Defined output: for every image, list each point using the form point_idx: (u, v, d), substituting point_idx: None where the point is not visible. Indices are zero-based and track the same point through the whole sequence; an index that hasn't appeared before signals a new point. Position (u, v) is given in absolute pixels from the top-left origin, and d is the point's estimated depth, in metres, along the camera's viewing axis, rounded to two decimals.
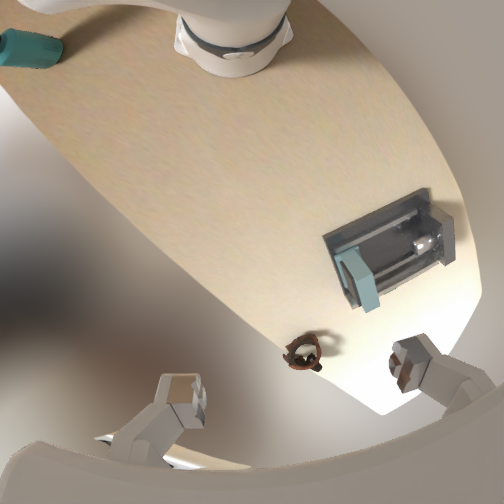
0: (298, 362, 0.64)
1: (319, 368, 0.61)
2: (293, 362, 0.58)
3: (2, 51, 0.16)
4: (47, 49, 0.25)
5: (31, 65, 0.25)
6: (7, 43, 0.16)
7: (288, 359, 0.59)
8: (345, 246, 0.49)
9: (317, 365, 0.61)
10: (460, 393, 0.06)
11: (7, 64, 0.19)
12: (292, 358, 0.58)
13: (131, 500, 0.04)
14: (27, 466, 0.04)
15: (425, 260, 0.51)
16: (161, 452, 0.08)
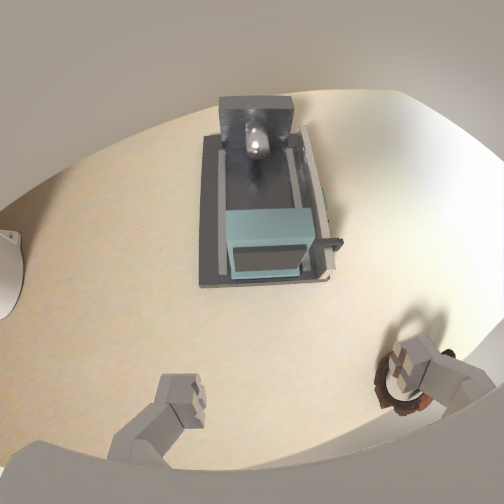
0: None
1: (449, 354, 0.26)
2: (410, 404, 0.23)
3: None
4: None
5: None
6: None
7: (404, 410, 0.24)
8: (221, 257, 0.33)
9: None
10: (460, 393, 0.06)
11: None
12: (401, 404, 0.24)
13: (131, 500, 0.04)
14: (27, 466, 0.04)
15: (300, 144, 0.38)
16: (161, 452, 0.08)
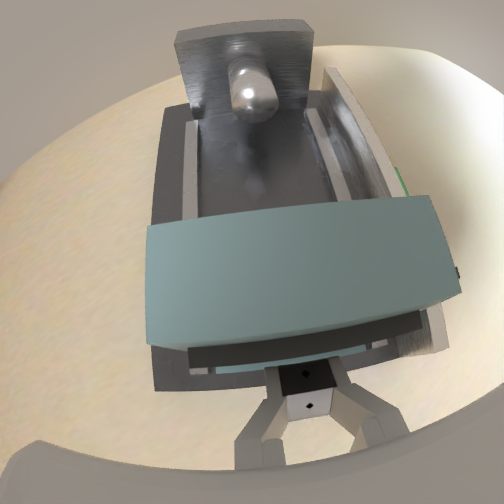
0: None
1: None
2: None
3: None
4: None
5: None
6: None
7: None
8: None
9: None
10: (359, 432, 0.06)
11: None
12: None
13: (131, 500, 0.04)
14: (27, 466, 0.04)
15: (330, 98, 0.19)
16: None
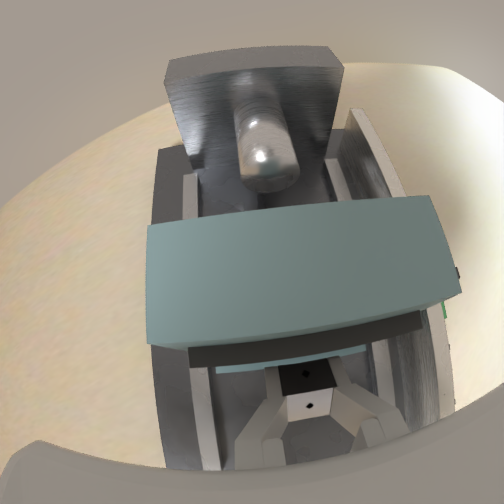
0: None
1: None
2: None
3: None
4: None
5: None
6: None
7: None
8: (204, 439, 0.12)
9: None
10: (360, 432, 0.06)
11: None
12: None
13: (131, 500, 0.04)
14: (27, 466, 0.04)
15: (355, 149, 0.17)
16: None
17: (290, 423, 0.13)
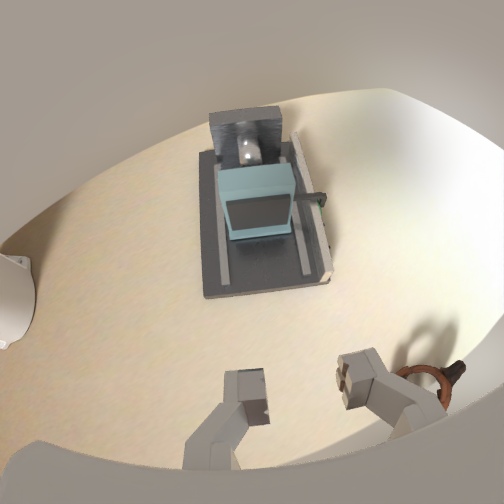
0: None
1: (459, 366, 0.24)
2: None
3: None
4: None
5: None
6: None
7: None
8: (223, 268, 0.34)
9: (451, 371, 0.24)
10: (402, 419, 0.06)
11: None
12: None
13: (131, 500, 0.04)
14: (27, 466, 0.04)
15: (292, 151, 0.40)
16: None
17: (260, 262, 0.35)
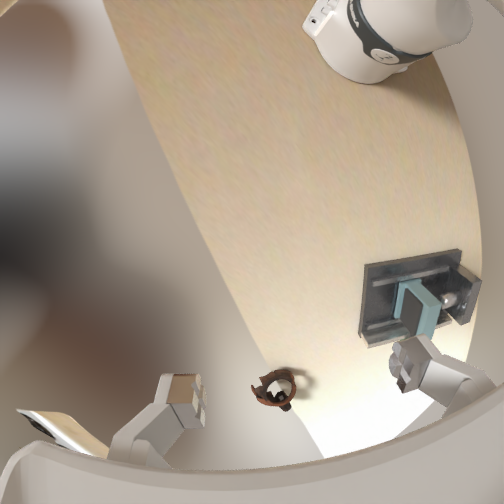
0: None
1: (288, 408, 0.53)
2: (264, 396, 0.50)
3: None
4: None
5: None
6: None
7: (259, 391, 0.51)
8: (383, 281, 0.46)
9: (287, 404, 0.53)
10: (460, 393, 0.06)
11: None
12: (264, 391, 0.50)
13: (131, 500, 0.04)
14: (27, 466, 0.04)
15: (440, 317, 0.49)
16: (161, 452, 0.08)
17: (381, 300, 0.48)
